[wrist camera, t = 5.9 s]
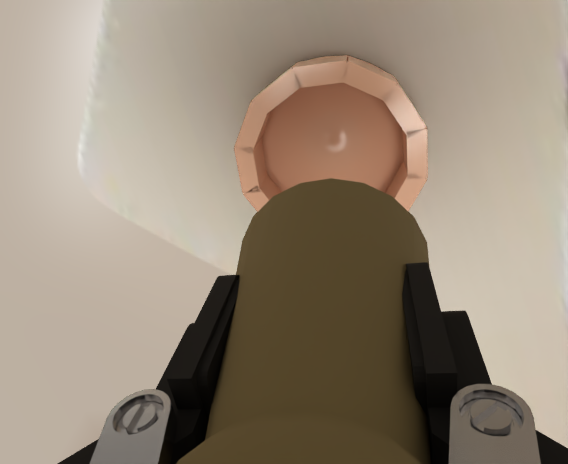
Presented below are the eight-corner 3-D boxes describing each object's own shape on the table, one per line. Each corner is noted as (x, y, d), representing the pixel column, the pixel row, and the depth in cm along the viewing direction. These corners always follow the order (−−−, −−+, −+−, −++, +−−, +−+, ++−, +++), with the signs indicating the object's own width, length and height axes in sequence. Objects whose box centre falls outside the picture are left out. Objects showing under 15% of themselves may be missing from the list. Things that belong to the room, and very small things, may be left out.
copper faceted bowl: (236, 68, 26) (220, 76, 23) (417, 43, 25) (426, 49, 21) (263, 225, 31) (253, 251, 27) (420, 215, 29) (428, 241, 26)
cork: (463, 212, 13) (738, 770, 4) (388, 360, 16) (436, 897, 7) (264, 153, 13) (26, 553, 4) (224, 311, 16) (31, 772, 7)
